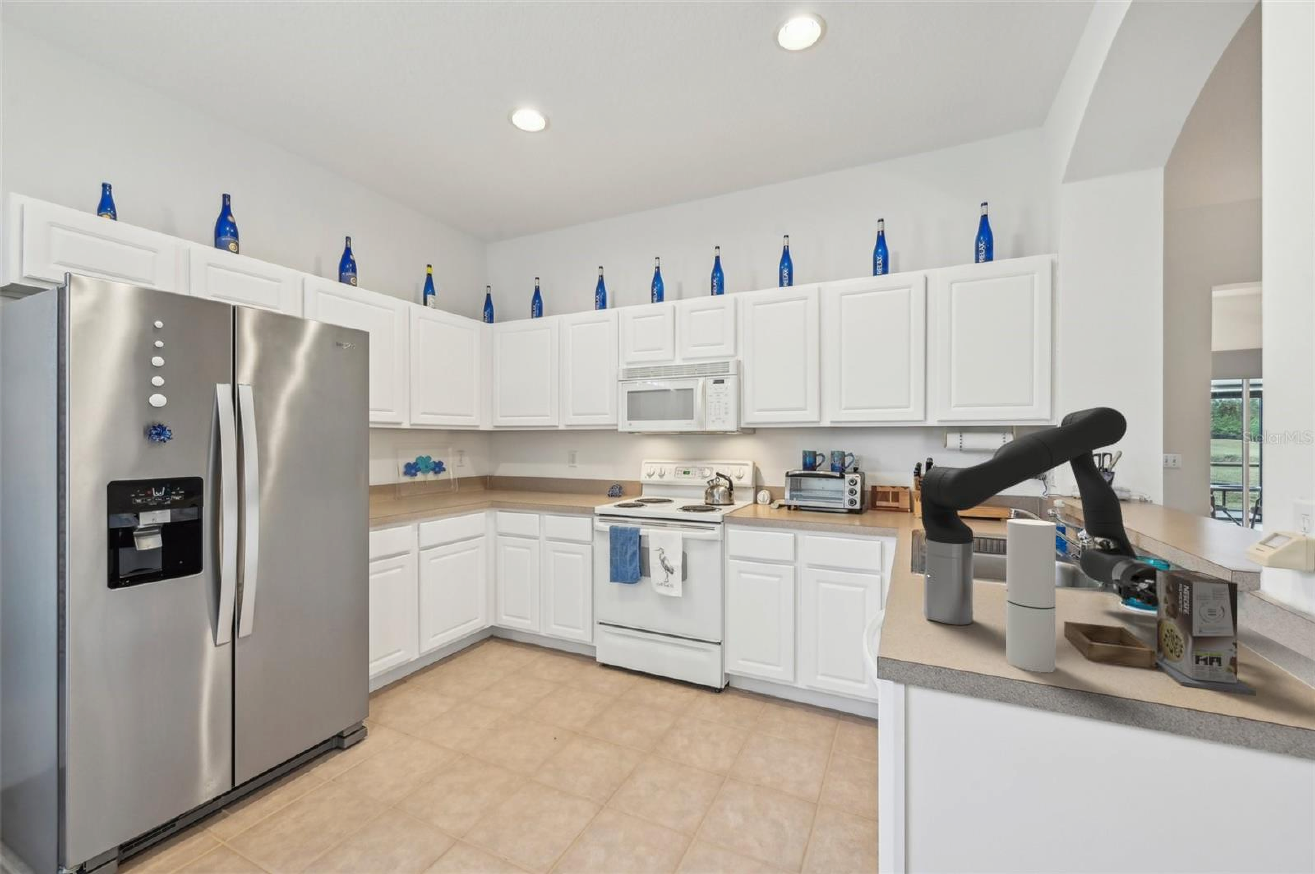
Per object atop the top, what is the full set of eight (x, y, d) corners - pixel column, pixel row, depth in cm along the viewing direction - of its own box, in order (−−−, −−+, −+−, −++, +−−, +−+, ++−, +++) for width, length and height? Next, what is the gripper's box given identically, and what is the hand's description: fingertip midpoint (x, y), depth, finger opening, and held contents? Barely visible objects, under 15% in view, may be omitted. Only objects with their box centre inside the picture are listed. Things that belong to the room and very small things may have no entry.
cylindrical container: (1050, 660, 98) (1050, 520, 98) (1059, 675, 92) (1060, 526, 92) (1003, 653, 101) (1003, 518, 101) (1009, 668, 95) (1010, 523, 95)
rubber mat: (1181, 685, 88) (1181, 681, 88) (1145, 657, 100) (1145, 654, 100) (1255, 695, 85) (1255, 691, 85) (1209, 665, 96) (1209, 661, 96)
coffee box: (1240, 684, 87) (1240, 583, 87) (1191, 680, 89) (1192, 580, 89) (1197, 661, 96) (1198, 569, 96) (1154, 658, 98) (1155, 567, 98)
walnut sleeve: (1088, 660, 98) (1088, 643, 98) (1064, 636, 110) (1064, 621, 110) (1155, 668, 95) (1155, 651, 95) (1123, 642, 107) (1123, 627, 107)
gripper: (1099, 559, 113) (1134, 578, 98) (1187, 565, 108) (1239, 586, 93) (1098, 596, 113) (1134, 620, 98) (1187, 604, 108) (1238, 631, 93)
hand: (1185, 604), depth 96 cm, fingers open, 8 cm apart
